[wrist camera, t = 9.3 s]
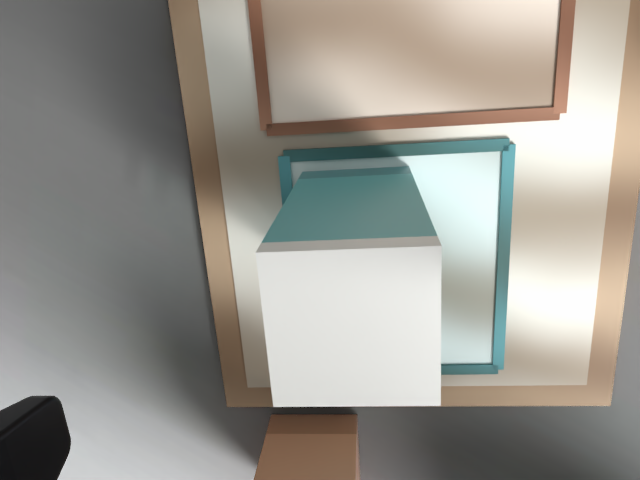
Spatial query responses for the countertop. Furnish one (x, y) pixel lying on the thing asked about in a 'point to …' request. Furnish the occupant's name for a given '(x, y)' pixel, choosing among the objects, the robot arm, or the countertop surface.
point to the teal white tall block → (352, 292)
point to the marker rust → (310, 448)
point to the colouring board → (432, 168)
